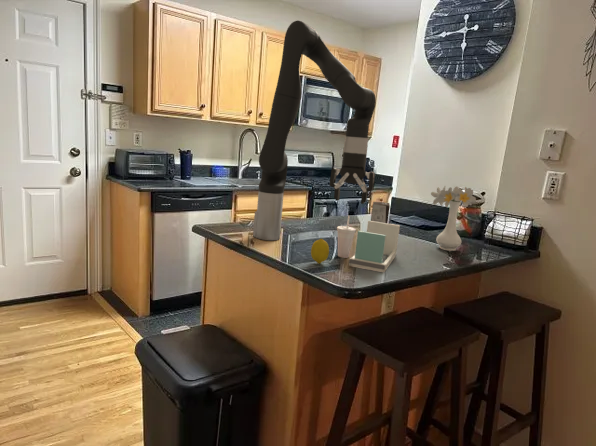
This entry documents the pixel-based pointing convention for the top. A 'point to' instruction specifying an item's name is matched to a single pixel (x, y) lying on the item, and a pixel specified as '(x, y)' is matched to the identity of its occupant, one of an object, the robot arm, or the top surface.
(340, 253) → the smoothie
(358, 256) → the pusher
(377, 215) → the coffee box
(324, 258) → the lemon
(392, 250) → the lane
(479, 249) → the top surface
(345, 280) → the top surface
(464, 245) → the top surface
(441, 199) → the flower vase
